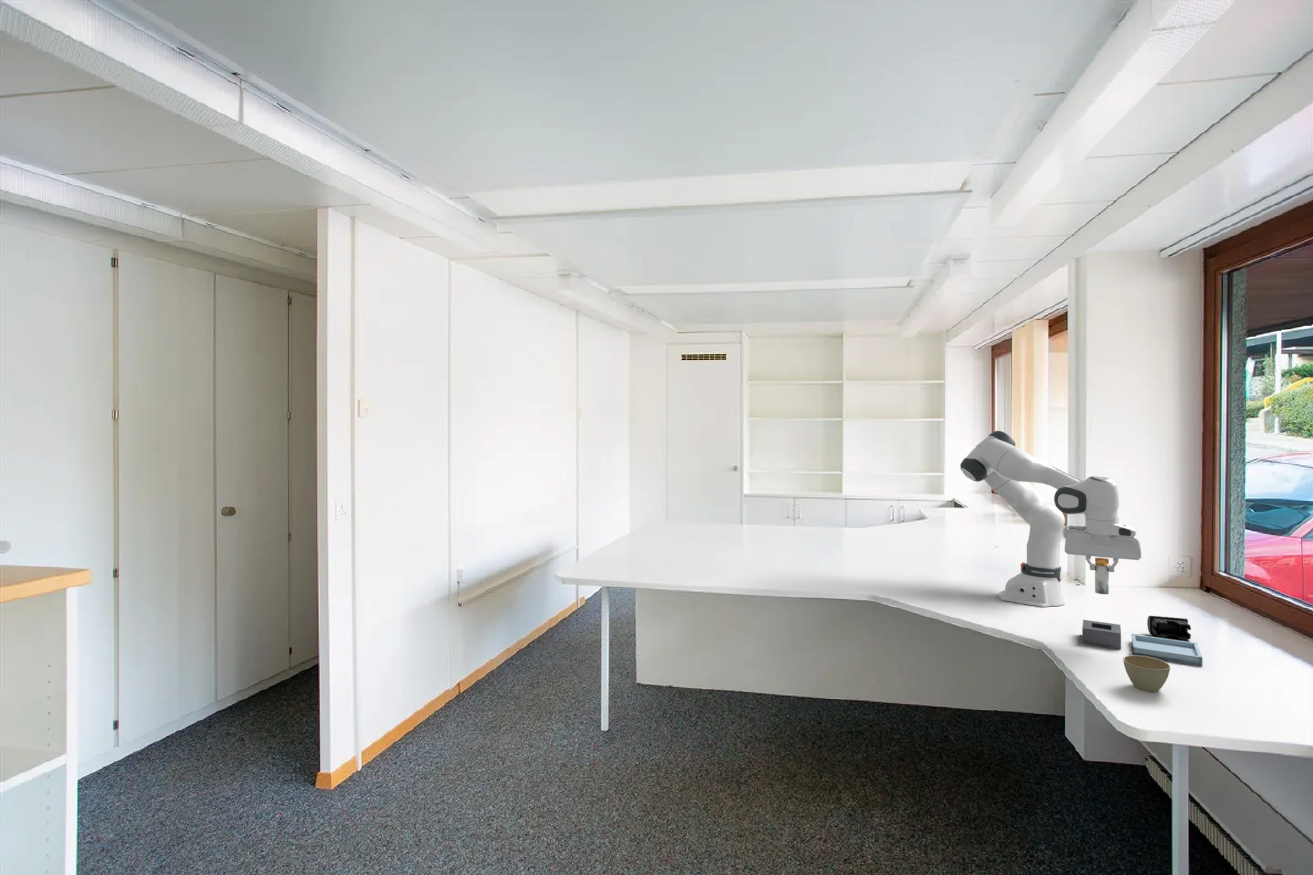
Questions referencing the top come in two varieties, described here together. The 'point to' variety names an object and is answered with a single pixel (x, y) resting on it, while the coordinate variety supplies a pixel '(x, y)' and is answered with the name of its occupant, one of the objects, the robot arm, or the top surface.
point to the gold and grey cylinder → (1102, 575)
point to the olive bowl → (1146, 672)
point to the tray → (1166, 649)
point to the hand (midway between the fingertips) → (1101, 570)
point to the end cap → (1169, 628)
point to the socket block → (1101, 634)
